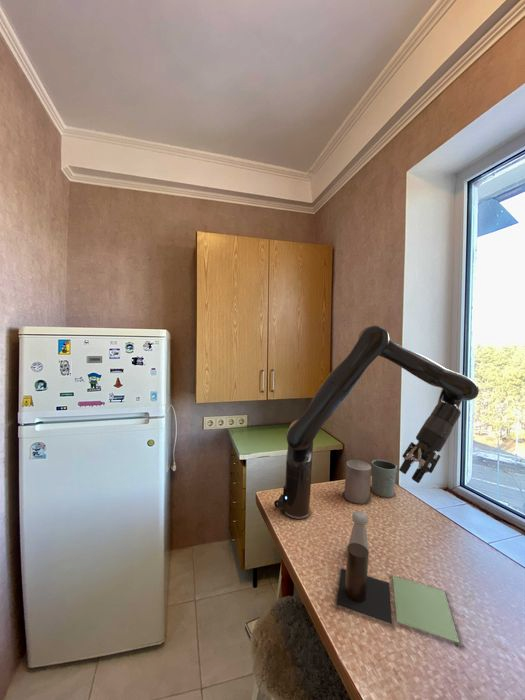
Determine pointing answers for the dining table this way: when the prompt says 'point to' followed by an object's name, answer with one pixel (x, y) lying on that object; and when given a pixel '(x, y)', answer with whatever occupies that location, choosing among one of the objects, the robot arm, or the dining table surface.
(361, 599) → the dark brown cylinder
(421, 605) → the sage mat
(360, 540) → the salt shaker
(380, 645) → the dining table surface
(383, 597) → the dark mat
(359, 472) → the pillar candle
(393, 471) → the grey-green plant pot
